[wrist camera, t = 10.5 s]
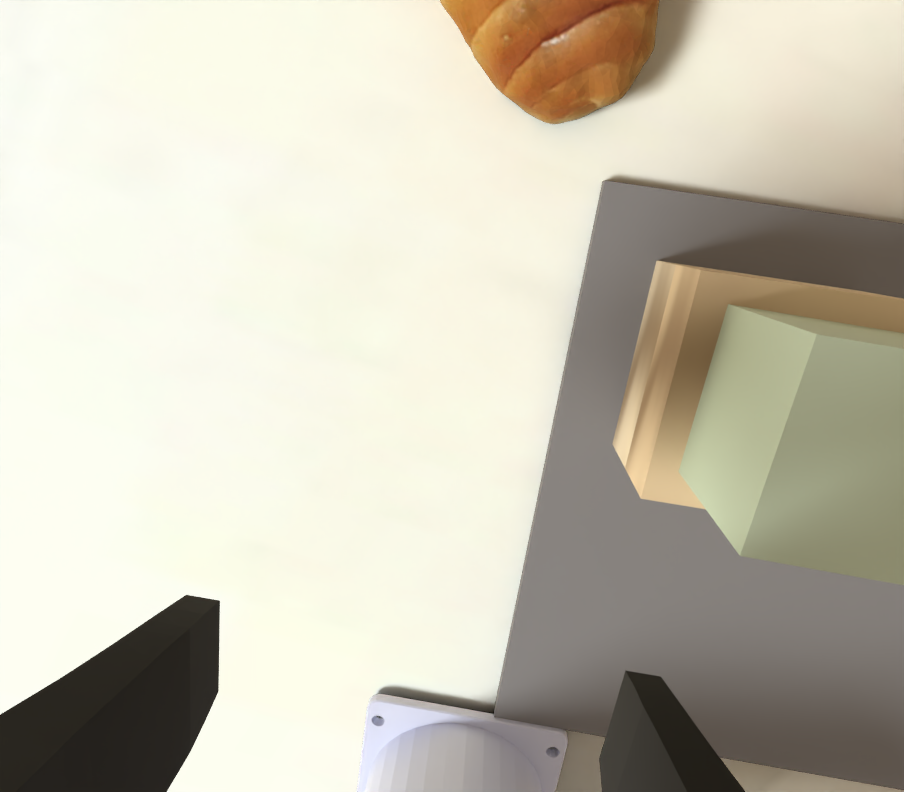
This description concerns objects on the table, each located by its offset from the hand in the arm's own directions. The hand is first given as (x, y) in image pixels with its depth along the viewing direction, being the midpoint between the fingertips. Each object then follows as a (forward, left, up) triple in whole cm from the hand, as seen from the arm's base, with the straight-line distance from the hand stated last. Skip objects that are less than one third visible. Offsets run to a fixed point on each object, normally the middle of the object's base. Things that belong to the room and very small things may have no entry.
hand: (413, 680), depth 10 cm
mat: (-1, -11, -10) cm, 15 cm away
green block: (+5, -8, -6) cm, 11 cm away
